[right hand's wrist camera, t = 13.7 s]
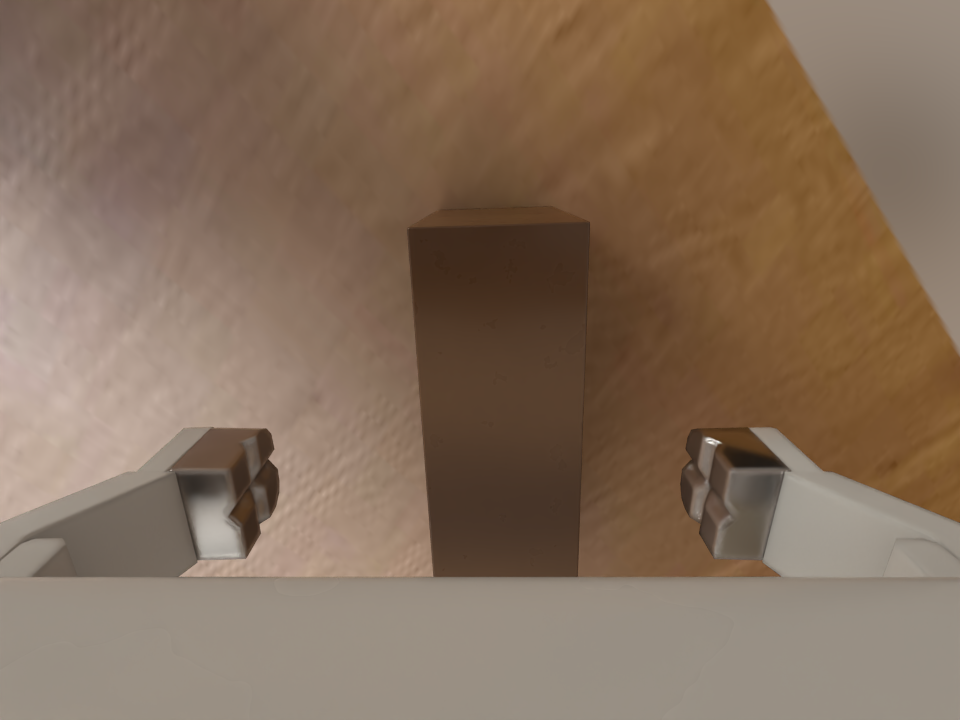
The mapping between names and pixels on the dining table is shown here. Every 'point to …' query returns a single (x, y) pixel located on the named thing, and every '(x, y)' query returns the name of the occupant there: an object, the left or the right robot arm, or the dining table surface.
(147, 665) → the right robot arm
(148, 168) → the dining table surface
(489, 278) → the box
